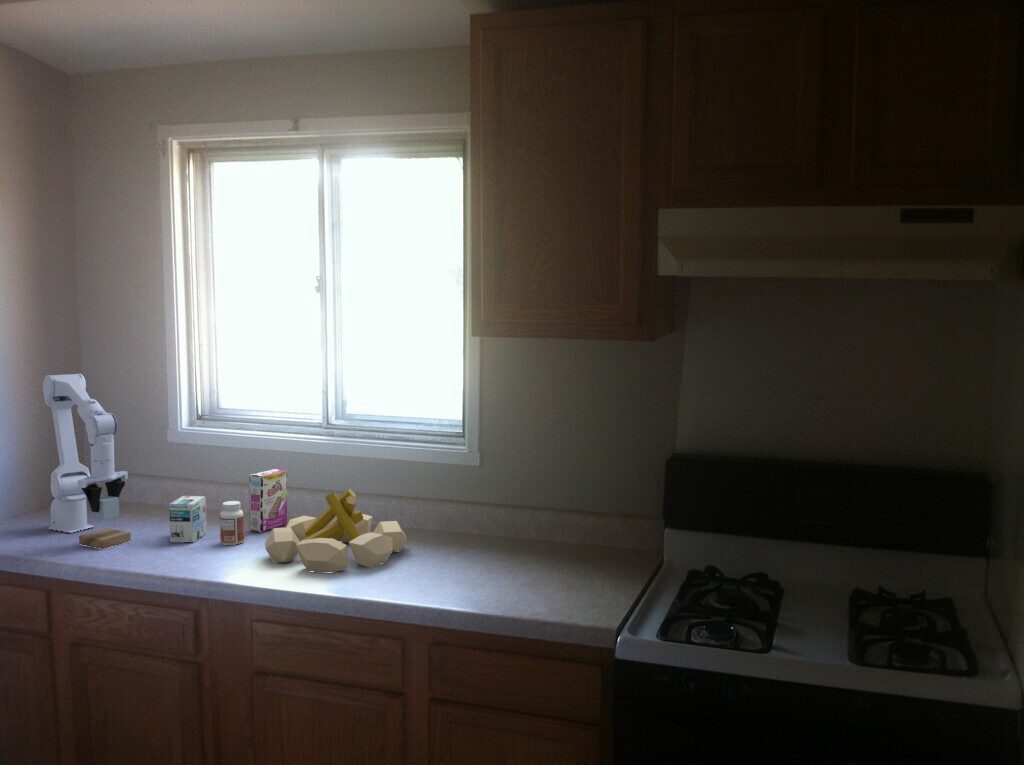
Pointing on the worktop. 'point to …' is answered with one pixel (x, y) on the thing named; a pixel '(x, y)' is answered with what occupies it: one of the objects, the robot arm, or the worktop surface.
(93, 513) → the slate cube
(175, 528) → the light bulb box
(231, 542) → the pill bottle
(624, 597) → the worktop surface
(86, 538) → the walnut slab
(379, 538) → the campfire
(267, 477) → the candy bar box
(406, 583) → the worktop surface
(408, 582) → the worktop surface
